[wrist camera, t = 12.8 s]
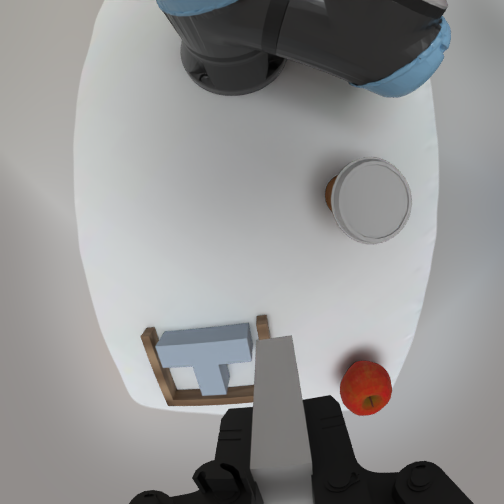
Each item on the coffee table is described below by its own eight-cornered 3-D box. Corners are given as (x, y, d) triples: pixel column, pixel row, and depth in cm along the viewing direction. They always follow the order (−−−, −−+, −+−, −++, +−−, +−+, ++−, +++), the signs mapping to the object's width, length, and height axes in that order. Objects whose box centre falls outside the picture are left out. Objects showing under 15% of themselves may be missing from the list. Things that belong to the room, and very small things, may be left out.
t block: (164, 331, 46) (155, 346, 41) (248, 322, 45) (246, 338, 40) (180, 379, 48) (173, 396, 43) (258, 373, 47) (257, 391, 42)
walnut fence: (146, 327, 46) (140, 336, 43) (266, 314, 45) (266, 323, 42) (172, 395, 49) (168, 405, 46) (278, 388, 48) (279, 399, 45)
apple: (339, 345, 46) (356, 384, 35) (384, 345, 45) (408, 382, 35) (328, 384, 48) (339, 426, 37) (370, 384, 47) (388, 422, 37)
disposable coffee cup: (318, 157, 39) (340, 148, 27) (380, 169, 39) (420, 167, 27) (309, 223, 41) (327, 240, 29) (371, 232, 41) (407, 252, 29)
